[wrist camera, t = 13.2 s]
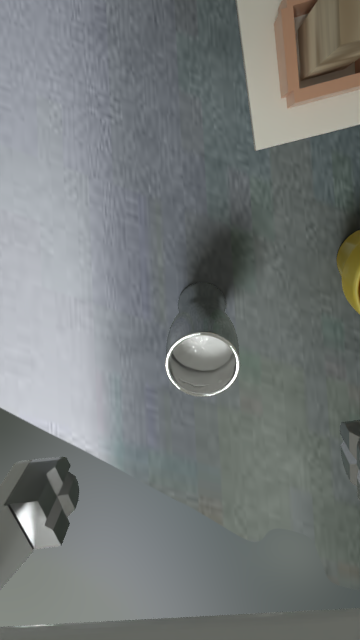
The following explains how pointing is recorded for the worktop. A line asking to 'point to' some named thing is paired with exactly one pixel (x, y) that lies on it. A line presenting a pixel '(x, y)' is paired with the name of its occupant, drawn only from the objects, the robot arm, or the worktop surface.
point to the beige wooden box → (329, 37)
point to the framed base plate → (290, 77)
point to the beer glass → (202, 343)
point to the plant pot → (350, 269)
